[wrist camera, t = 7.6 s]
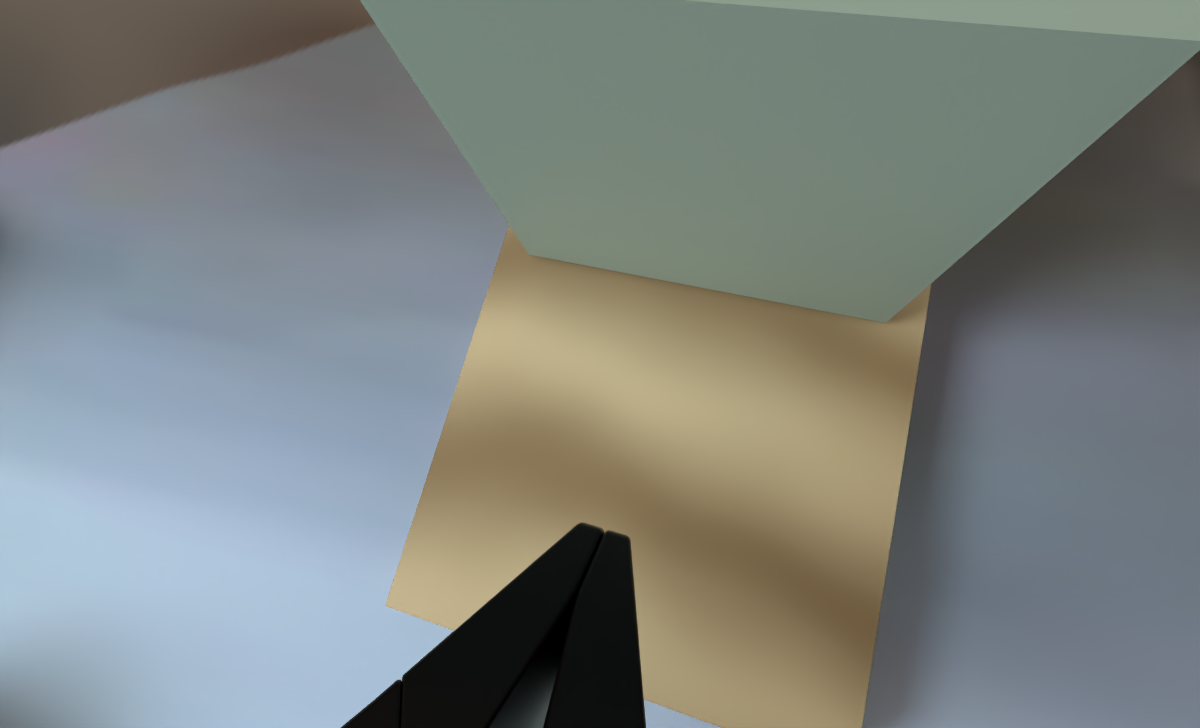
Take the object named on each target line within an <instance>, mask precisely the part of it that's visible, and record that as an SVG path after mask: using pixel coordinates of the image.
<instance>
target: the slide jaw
mask: <svg viewBox="0 0 1200 728" xmlns="http://www.w3.org/2000/svg"><path fill="white" fill-rule="evenodd" d="M360 1H361V2H362V4H363V5H364V7H365V8H366V10H367V11H368V13H369V14H370V16H371V17H372V19H373V20H374V22H375V23H376V25H377V26H378V28H379V30H380V31H381V33H382V34H383V36H384V37H385V39H386V40H387V42H388V43H389V45H390V46H391V48H392V49H393V51H394V52H395V54H396V55H397V57H398V58H399V60H400V61H401V63H402V64H403V66H404V67H405V69H406V70H407V72H408V73H409V75H410V76H411V78H412V79H413V81H414V82H415V84H416V85H417V87H418V88H419V90H420V91H421V93H422V94H423V96H424V97H425V99H426V100H427V102H428V103H429V105H430V106H431V108H432V109H433V111H434V112H435V114H436V115H437V117H438V118H439V120H440V121H441V123H442V124H443V126H444V127H445V129H446V130H447V132H448V133H449V135H450V137H451V138H452V140H453V141H454V143H455V144H456V146H457V147H458V149H459V150H460V152H461V153H462V155H463V156H464V158H465V159H466V161H467V162H468V164H469V165H470V167H471V168H472V170H473V171H474V173H475V174H476V176H477V177H478V179H479V180H480V182H481V183H482V185H483V186H484V188H485V189H486V191H487V192H488V194H489V195H490V197H491V198H492V200H493V201H494V203H495V204H496V206H497V207H498V209H499V210H500V212H501V213H502V215H503V216H504V218H505V219H506V221H507V222H508V224H509V225H510V227H511V228H512V230H513V231H514V233H515V234H516V236H517V237H518V239H519V240H520V242H521V243H522V245H523V247H524V248H525V250H526V251H527V253H528V254H529V255H533V256H538V257H544V258H549V259H554V260H559V261H564V262H570V263H575V264H580V265H585V266H591V267H596V268H601V269H606V270H611V271H617V272H622V273H627V274H632V275H637V276H643V277H648V278H653V279H658V280H664V281H669V282H674V283H679V284H684V285H690V286H695V287H700V288H705V289H710V290H716V291H721V292H726V293H731V294H737V295H742V296H747V297H752V298H757V299H763V300H768V301H773V302H778V303H784V304H789V305H794V306H799V307H804V308H810V309H815V310H820V311H825V312H830V313H836V314H841V315H846V316H851V317H857V318H862V319H867V320H872V321H877V322H883V323H886V322H887V321H889V320H890V319H891V318H892V317H893V316H894V315H895V314H897V313H898V312H899V311H900V310H901V309H902V308H903V307H905V306H906V305H907V304H908V303H909V302H910V301H912V300H913V299H914V298H915V297H916V296H917V295H918V294H920V293H921V292H922V291H923V290H924V289H925V288H926V287H928V286H929V285H930V284H931V283H932V282H933V281H935V280H936V279H937V278H938V277H939V276H940V275H941V274H943V273H944V272H945V271H946V270H947V269H948V268H950V267H951V266H952V265H953V264H954V263H955V262H956V261H958V260H959V259H960V258H961V257H962V256H963V255H964V254H966V253H967V252H968V251H969V250H970V249H971V248H973V247H974V246H975V245H976V244H977V243H978V242H979V241H981V240H982V239H983V238H984V237H985V236H986V235H987V234H989V233H990V232H991V231H992V230H993V229H994V228H996V227H997V226H998V225H999V224H1000V223H1001V222H1002V221H1004V220H1005V219H1006V218H1007V217H1008V216H1009V215H1011V214H1012V213H1013V212H1014V211H1015V210H1016V209H1017V208H1019V207H1020V206H1021V205H1022V204H1023V203H1024V202H1025V201H1027V200H1028V199H1029V198H1030V197H1031V196H1032V195H1034V194H1035V193H1036V192H1037V191H1038V190H1039V189H1040V188H1042V187H1043V186H1044V185H1045V184H1046V183H1047V182H1048V181H1050V180H1051V179H1052V178H1053V177H1054V176H1055V175H1057V174H1058V173H1059V172H1060V171H1061V170H1062V169H1063V168H1065V167H1066V166H1067V165H1068V164H1069V163H1070V162H1072V161H1073V160H1074V159H1075V158H1076V157H1077V156H1078V155H1080V154H1081V153H1082V152H1083V151H1084V150H1085V149H1086V148H1088V147H1089V146H1090V145H1091V144H1092V143H1093V142H1095V141H1096V140H1097V139H1098V138H1099V137H1100V136H1101V135H1103V134H1104V133H1105V132H1106V131H1107V130H1108V129H1110V128H1111V127H1112V126H1113V125H1114V124H1115V123H1116V122H1118V121H1119V120H1120V119H1121V118H1122V117H1123V116H1124V115H1126V114H1127V113H1128V112H1129V111H1130V110H1131V109H1133V108H1134V107H1135V106H1136V105H1137V104H1138V103H1139V102H1141V101H1142V100H1143V99H1144V98H1145V97H1146V96H1147V95H1149V94H1150V93H1151V92H1152V91H1153V90H1154V89H1156V88H1157V87H1158V86H1159V85H1160V84H1161V83H1162V82H1164V81H1165V80H1166V79H1167V78H1168V77H1169V76H1171V75H1172V74H1173V73H1174V72H1175V71H1176V70H1177V69H1179V68H1180V67H1181V66H1182V65H1183V64H1184V63H1185V62H1187V61H1188V60H1189V59H1190V58H1191V57H1192V56H1194V55H1195V54H1196V53H1197V52H1198V51H1199V50H1200V0H360Z"/></svg>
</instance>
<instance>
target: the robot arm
mask: <svg viewBox="0 0 1200 728" xmlns="http://www.w3.org/2000/svg"><path fill="white" fill-rule="evenodd" d="M341 728H646V722H645V709H644V697H643V685H642V673H641V661H640V649H639V636H638V624H637V612H636V600H635V588H634V575H633V563H632V551H631V540H630V538H629V536H627V535H625V534H621V533H618V532H615V531H611V530H607V531H605V532H604V530H603V529H602V528H601V527H598V526H594V525H591V524H588V523H584V522H581V523H578V524H577V525H576V526H574V527H573V528H572V529H571V530H570V531H569V532H567V533H566V534H565V535H564V536H563V537H562V538H561V539H559V540H558V541H557V542H556V543H555V544H554V545H552V546H551V547H550V548H549V549H548V550H547V551H546V552H544V553H543V554H542V555H541V556H540V557H539V558H538V559H536V560H535V561H534V562H533V563H532V564H531V565H529V566H528V567H527V568H526V569H525V570H524V571H523V572H521V573H520V574H519V575H518V576H517V577H516V578H514V579H513V580H512V581H511V582H510V583H509V584H508V585H506V586H505V587H504V588H503V589H502V590H501V591H500V592H498V593H497V594H496V595H495V596H494V597H493V598H491V599H490V600H489V601H488V602H487V603H486V604H485V605H483V606H482V607H481V608H480V609H479V610H478V611H476V612H475V613H474V614H473V615H472V616H471V617H470V618H468V619H467V620H466V621H465V622H464V623H463V624H461V625H460V626H459V627H458V628H457V629H456V630H455V631H453V632H452V633H451V634H450V635H449V636H448V637H447V638H445V639H444V640H443V641H442V642H441V643H440V644H438V645H437V646H436V647H435V648H434V649H433V650H432V651H430V652H429V653H428V654H427V655H426V656H425V657H423V658H422V659H421V660H420V661H419V662H418V663H417V664H415V665H414V666H413V667H412V668H411V669H410V670H409V671H407V672H406V673H405V674H404V675H403V677H402V681H401V680H397V681H395V682H394V683H393V684H392V685H391V686H390V687H389V688H387V689H386V690H385V691H384V692H383V693H382V694H381V695H379V696H378V697H377V698H376V699H375V700H374V701H372V702H371V703H370V704H369V705H368V706H366V707H365V708H364V709H363V710H362V711H360V712H359V713H358V714H357V715H356V716H354V717H353V718H352V719H351V720H349V721H348V722H347V723H346V724H345V725H343V726H342V727H341Z"/></svg>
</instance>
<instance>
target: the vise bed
mask: <svg viewBox="0 0 1200 728" xmlns="http://www.w3.org/2000/svg"><path fill="white" fill-rule="evenodd" d="M930 290H931V284H930V285H929V286H928V287H926V288H925V289H924V290H923V291H922V292H921V293H920V294H918V295H917V296H916V297H915V298H914V299H913V300H912V301H910V302H909V303H908V304H907V305H906V306H905V307H903V308H902V309H901V310H900V311H899V312H898V313H897V314H895V315H894V316H893V317H892V318H891V319H890V320H889V321H887V322H886V323H883V322H877V321H872V320H867V319H862V318H857V317H851V316H846V315H841V314H836V313H830V312H825V311H820V310H815V309H810V308H804V307H799V306H794V305H789V304H784V303H778V302H773V301H768V300H763V299H757V298H752V297H747V296H742V295H737V294H731V293H726V292H721V291H716V290H710V289H705V288H700V287H695V286H690V285H684V284H679V283H674V282H669V281H664V280H658V279H653V278H648V277H643V276H637V275H632V274H627V273H622V272H617V271H611V270H606V269H601V268H596V267H591V266H585V265H580V264H575V263H570V262H564V261H559V260H554V259H549V258H544V257H538V256H533V255H529V254H528V253H527V251H526V250H525V248H524V247H523V245H522V243H521V242H520V240H519V239H518V237H517V236H516V234H515V233H514V231H513V230H512V228H511V227H510V225H509V227H508V230H507V233H506V236H505V239H504V242H503V245H502V248H501V251H500V254H499V257H498V261H497V264H496V267H495V270H494V273H493V276H492V279H491V282H490V285H489V288H488V291H487V294H486V297H485V301H484V304H483V307H482V310H481V313H480V316H479V319H478V322H477V325H476V328H475V331H474V334H473V337H472V340H471V344H470V347H469V350H468V353H467V356H466V359H465V362H464V365H463V368H462V371H461V374H460V377H459V380H458V384H457V387H456V390H455V393H454V396H453V399H452V402H451V405H450V408H449V411H448V414H447V417H446V420H445V423H444V427H443V430H442V433H441V436H440V439H439V442H438V445H437V448H436V451H435V454H434V457H433V460H432V463H431V467H430V470H429V473H428V476H427V479H426V482H425V485H424V488H423V491H422V494H421V497H420V500H419V503H418V506H417V510H416V513H415V516H414V519H413V522H412V525H411V528H410V531H409V534H408V537H407V540H406V543H405V546H404V550H403V553H402V556H401V559H400V562H399V565H398V568H397V571H396V574H395V577H394V580H393V583H392V586H391V590H390V593H389V596H388V599H387V602H386V605H385V606H388V607H391V608H393V609H396V610H399V611H402V612H404V613H407V614H410V615H413V616H415V617H418V618H421V619H424V620H426V621H429V622H432V623H435V624H437V625H440V626H443V627H446V628H448V629H451V630H454V631H455V630H456V629H457V628H458V627H459V626H460V625H461V624H463V623H464V622H465V621H466V620H467V619H468V618H470V617H471V616H472V615H473V614H474V613H475V612H476V611H478V610H479V609H480V608H481V607H482V606H483V605H485V604H486V603H487V602H488V601H489V600H490V599H491V598H493V597H494V596H495V595H496V594H497V593H498V592H500V591H501V590H502V589H503V588H504V587H505V586H506V585H508V584H509V583H510V582H511V581H512V580H513V579H514V578H516V577H517V576H518V575H519V574H520V573H521V572H523V571H524V570H525V569H526V568H527V567H528V566H529V565H531V564H532V563H533V562H534V561H535V560H536V559H538V558H539V557H540V556H541V555H542V554H543V553H544V552H546V551H547V550H548V549H549V548H550V547H551V546H552V545H554V544H555V543H556V542H557V541H558V540H559V539H561V538H562V537H563V536H564V535H565V534H566V533H567V532H569V531H570V530H571V529H572V528H573V527H574V526H576V525H577V524H578V523H581V522H584V523H588V524H591V525H594V526H598V527H601V528H602V529H603V530H604V532H605V531H607V530H611V531H615V532H618V533H621V534H625V535H627V536H629V538H630V540H631V551H632V563H633V575H634V588H635V600H636V612H637V624H638V636H639V649H640V661H641V673H642V685H643V697H644V700H647V701H650V702H653V703H655V704H658V705H661V706H664V707H666V708H669V709H672V710H675V711H677V712H680V713H683V714H686V715H688V716H691V717H694V718H697V719H699V720H702V721H705V722H708V723H710V724H713V725H716V726H719V727H722V728H862V723H863V717H864V710H865V704H866V698H867V691H868V685H869V679H870V672H871V666H872V659H873V653H874V647H875V640H876V634H877V628H878V621H879V615H880V608H881V602H882V596H883V589H884V583H885V577H886V570H887V564H888V557H889V551H890V545H891V538H892V532H893V526H894V519H895V513H896V506H897V500H898V494H899V487H900V481H901V475H902V468H903V462H904V455H905V449H906V443H907V436H908V430H909V424H910V417H911V411H912V405H913V398H914V392H915V385H916V379H917V373H918V366H919V360H920V354H921V347H922V341H923V334H924V328H925V322H926V315H927V309H928V303H929V296H930Z"/></svg>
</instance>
